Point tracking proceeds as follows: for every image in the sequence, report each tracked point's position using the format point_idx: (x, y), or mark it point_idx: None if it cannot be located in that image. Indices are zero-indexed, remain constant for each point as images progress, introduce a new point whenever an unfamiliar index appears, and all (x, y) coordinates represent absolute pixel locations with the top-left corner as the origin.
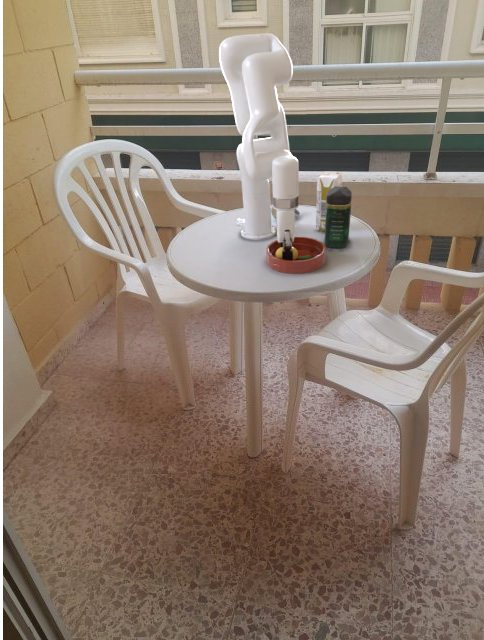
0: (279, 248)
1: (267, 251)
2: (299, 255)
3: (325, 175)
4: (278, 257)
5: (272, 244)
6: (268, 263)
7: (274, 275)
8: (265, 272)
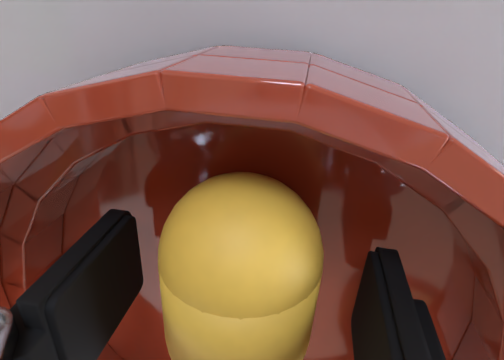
0: (234, 279)
1: (164, 89)
2: (326, 342)
3: None
4: (183, 198)
5: (488, 213)
6: (148, 61)
7: (13, 92)
8: (57, 7)
